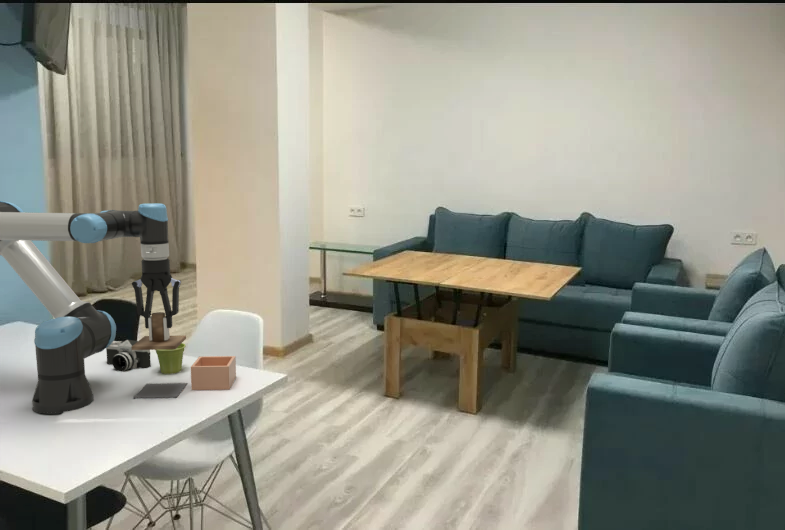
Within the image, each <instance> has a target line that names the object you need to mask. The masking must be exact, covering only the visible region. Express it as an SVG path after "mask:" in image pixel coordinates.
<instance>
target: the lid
mask: <svg viewBox="0 0 785 530" xmlns="http://www.w3.org/2000/svg"><path fill="white" fill-rule="evenodd" d="M151 316H152V333H153V340H151V341H149V335H145V336H144V335H143V337H142V338H140V339H139V340H137V341H138V342H137V343H135V344H134V345H133V346H131V347H132V350H150V351H153V350H154V351H156V350H167V349H176V348H177V347H178V346H179V345H180V344H181V343H183V342H184V341H186V339H187V335H184V334H183V335H182V334H181V335H169V336H170V338H169V339H168V340H164V323H163V318H164V317H165V316H166V315H165V311H163V312H161V311H160V312H159V311H158V312H151Z"/></svg>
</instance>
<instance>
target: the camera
mask: <svg viewBox="0 0 785 530" xmlns="http://www.w3.org/2000/svg"><path fill="white" fill-rule="evenodd" d="M138 341H139V340H133V339H132V340H131V339H126V340H124V341H122V340H121V341H119V340H118V341H115V340H114V341H113V342H112V344H111V345H110V346H108V347H107V348H105V350H106V364H107V365H110V366H112V367H113V368H114V370H115V371H117V372H125V371H127V370H130V369H135V370H137V369H148V368H150V367H152V366H151V365H152V363H151V350H132V347H131V346H133V345H134V344H135V343H137V342H138ZM121 363H125V364H124V365H123V366H122V364H121Z"/></svg>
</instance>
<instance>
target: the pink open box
mask: <svg viewBox="0 0 785 530" xmlns="http://www.w3.org/2000/svg"><path fill="white" fill-rule="evenodd" d="M236 358H237V357H236V355H231V356H230V355H219V356H218V355H217V356H214V355H213V356H211V355H210V356H209V355H207V356H206V355H205V356H204V355H203V356H198V357H197V358H196V360H194V362H193V364H192V365H190V382H191V384H190V385H191V387H190V388H191V391H219V390H220V391H222V390H226V391H228V390H231V388H232V386H233V384H234V382H235V381H234V380H236V379H237V372H236V371H237V361H236V360H237V359H236ZM235 378H236V379H235Z"/></svg>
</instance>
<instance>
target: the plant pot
mask: <svg viewBox="0 0 785 530" xmlns="http://www.w3.org/2000/svg"><path fill="white" fill-rule="evenodd" d="M185 348H186V343H183V342H182V343H181V344H180V345H179V346H178V347H177V348H176V349H167V350H155V352H156V356H157V360H158V364H159V369H160V373H161V374H165V375H174V374H178V373H180V372H181V371H182V370H183V369H182V368H183V359H184V351H185Z"/></svg>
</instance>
